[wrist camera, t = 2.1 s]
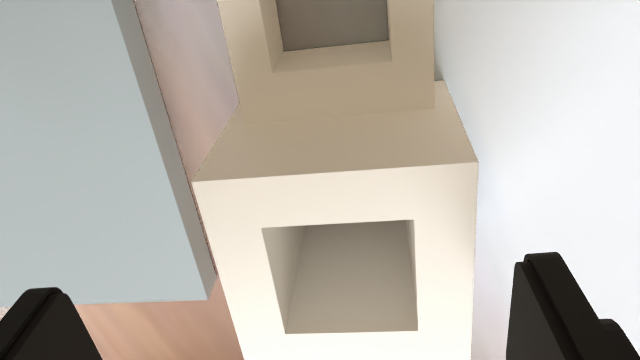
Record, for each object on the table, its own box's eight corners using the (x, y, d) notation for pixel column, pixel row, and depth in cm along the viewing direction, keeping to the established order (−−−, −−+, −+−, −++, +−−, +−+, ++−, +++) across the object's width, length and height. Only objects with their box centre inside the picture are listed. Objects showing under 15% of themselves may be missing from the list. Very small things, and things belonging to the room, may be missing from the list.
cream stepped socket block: (444, 245, 17) (470, 365, 13) (276, 253, 18) (246, 368, 13) (444, -138, 11) (491, -159, 7) (199, -101, 12) (107, -99, 8)
